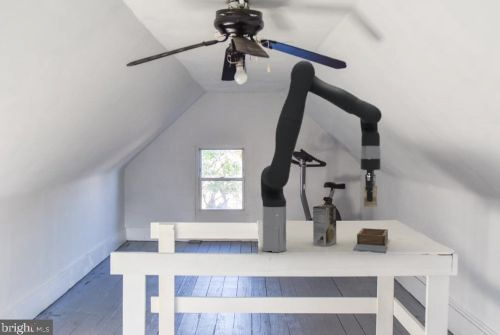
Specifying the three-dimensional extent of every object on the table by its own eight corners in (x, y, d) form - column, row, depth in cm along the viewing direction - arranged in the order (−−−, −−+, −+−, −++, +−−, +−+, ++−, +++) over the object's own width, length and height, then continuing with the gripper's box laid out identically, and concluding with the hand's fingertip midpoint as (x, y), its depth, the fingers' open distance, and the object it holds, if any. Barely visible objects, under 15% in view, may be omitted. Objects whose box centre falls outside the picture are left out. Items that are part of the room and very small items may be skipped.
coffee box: (323, 241, 187) (323, 204, 186) (336, 243, 183) (336, 205, 182) (312, 244, 180) (312, 206, 179) (326, 246, 176) (326, 207, 175)
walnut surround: (384, 247, 174) (384, 236, 174) (357, 245, 178) (357, 234, 178) (387, 239, 191) (387, 229, 191) (362, 238, 195) (362, 228, 195)
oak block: (375, 207, 167) (375, 186, 167) (363, 206, 169) (364, 186, 169) (376, 205, 172) (376, 185, 172) (365, 205, 173) (365, 185, 173)
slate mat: (385, 253, 163) (385, 251, 163) (353, 250, 168) (353, 249, 168) (387, 247, 173) (387, 246, 173) (356, 245, 178) (356, 244, 178)
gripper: (362, 158, 178) (362, 199, 178) (358, 157, 165) (358, 202, 165) (381, 157, 175) (381, 199, 176) (378, 157, 162) (378, 203, 162)
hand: (370, 200), depth 170 cm, fingers closed on oak block, 4 cm apart
